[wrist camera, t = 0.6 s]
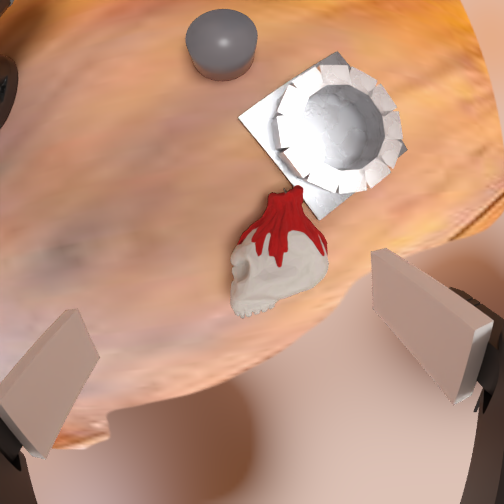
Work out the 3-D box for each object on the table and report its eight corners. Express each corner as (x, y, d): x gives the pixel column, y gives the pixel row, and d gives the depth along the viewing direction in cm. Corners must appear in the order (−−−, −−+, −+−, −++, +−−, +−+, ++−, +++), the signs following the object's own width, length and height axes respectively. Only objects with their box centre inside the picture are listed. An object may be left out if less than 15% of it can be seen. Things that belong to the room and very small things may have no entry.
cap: (180, 53, 30) (171, 34, 25) (228, 20, 29) (228, -1, 24) (217, 92, 32) (214, 79, 26) (266, 58, 31) (272, 40, 25)
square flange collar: (238, 118, 33) (238, 109, 28) (335, 53, 31) (350, 37, 26) (317, 219, 37) (331, 229, 32) (404, 149, 35) (428, 149, 30)
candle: (230, 300, 39) (233, 184, 37) (313, 301, 40) (320, 189, 37) (228, 327, 30) (232, 178, 28) (333, 327, 31) (345, 185, 29)
